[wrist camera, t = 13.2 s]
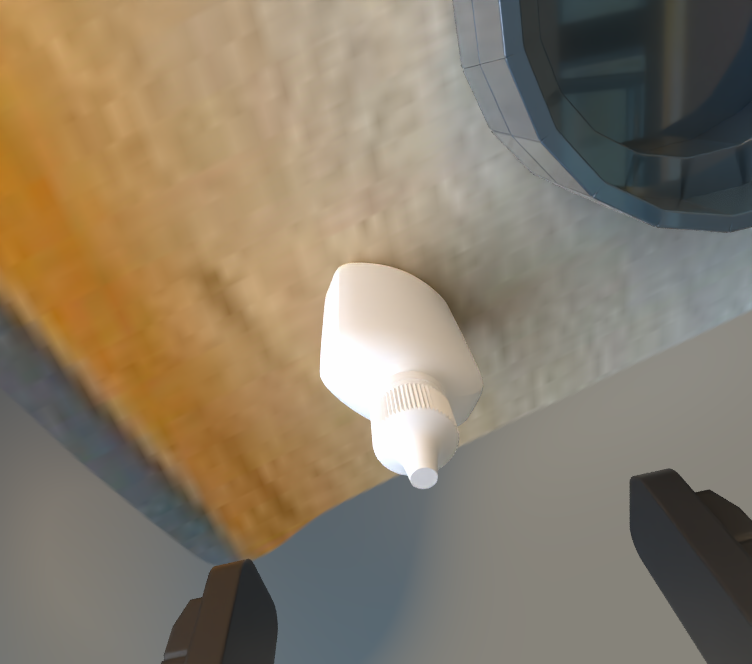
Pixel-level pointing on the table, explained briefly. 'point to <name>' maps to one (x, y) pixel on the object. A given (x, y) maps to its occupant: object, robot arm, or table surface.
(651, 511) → the robot arm
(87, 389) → the table surface
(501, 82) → the bowl
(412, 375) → the eye dropper bottle
